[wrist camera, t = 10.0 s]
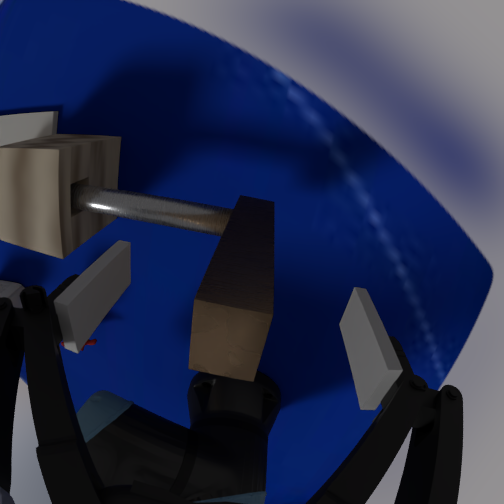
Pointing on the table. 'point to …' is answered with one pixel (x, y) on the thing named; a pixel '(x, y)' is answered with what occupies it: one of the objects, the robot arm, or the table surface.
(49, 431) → the robot arm
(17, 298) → the photo printer
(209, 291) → the handled brown block
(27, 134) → the mat
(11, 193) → the bearing block
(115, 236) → the table surface
